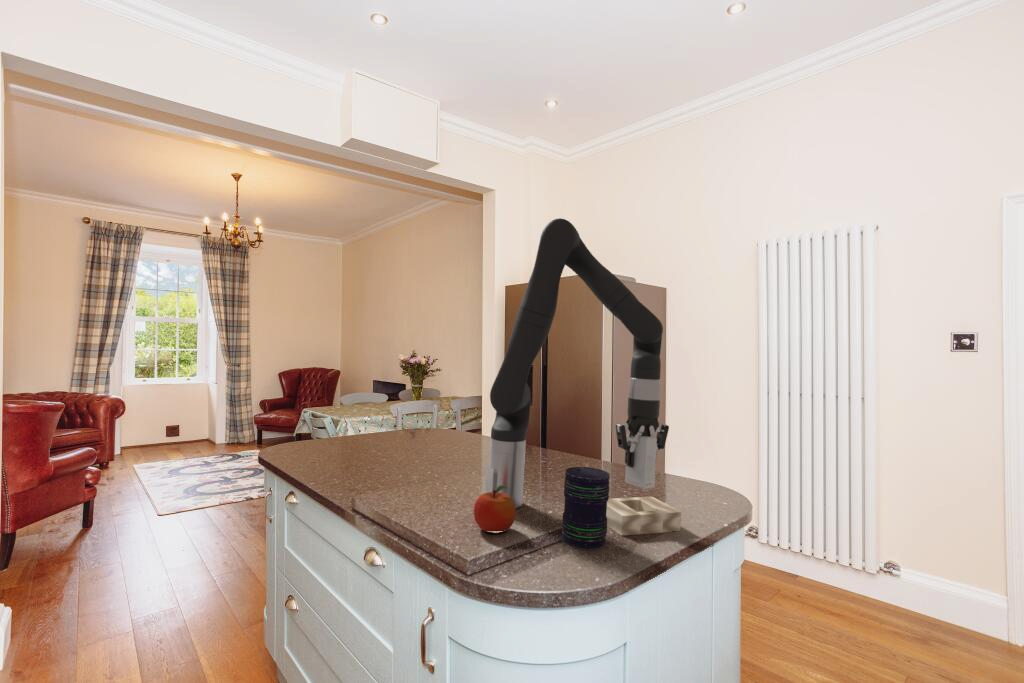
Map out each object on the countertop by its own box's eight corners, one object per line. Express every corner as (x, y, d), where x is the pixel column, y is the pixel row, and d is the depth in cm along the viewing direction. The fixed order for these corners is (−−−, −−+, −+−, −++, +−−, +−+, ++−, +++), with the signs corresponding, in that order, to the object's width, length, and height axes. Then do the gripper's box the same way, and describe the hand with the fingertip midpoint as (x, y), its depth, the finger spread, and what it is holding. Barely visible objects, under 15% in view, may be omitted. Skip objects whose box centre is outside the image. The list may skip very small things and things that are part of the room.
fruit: (466, 524, 116) (468, 481, 116) (504, 521, 120) (506, 479, 120) (481, 540, 107) (483, 494, 107) (521, 536, 111) (524, 490, 111)
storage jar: (615, 545, 109) (619, 476, 109) (581, 553, 104) (585, 480, 104) (585, 529, 118) (589, 465, 118) (551, 536, 112) (555, 469, 112)
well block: (621, 535, 115) (622, 515, 115) (596, 517, 126) (597, 499, 126) (680, 531, 120) (681, 512, 120) (651, 513, 131) (652, 496, 131)
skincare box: (655, 487, 122) (659, 437, 122) (643, 489, 119) (647, 438, 119) (634, 480, 127) (638, 432, 127) (623, 482, 124) (626, 433, 124)
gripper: (626, 398, 117) (622, 471, 117) (678, 399, 122) (674, 469, 122) (610, 394, 124) (606, 463, 124) (660, 395, 129) (656, 462, 129)
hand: (640, 466), depth 123 cm, fingers closed on skincare box, 5 cm apart
